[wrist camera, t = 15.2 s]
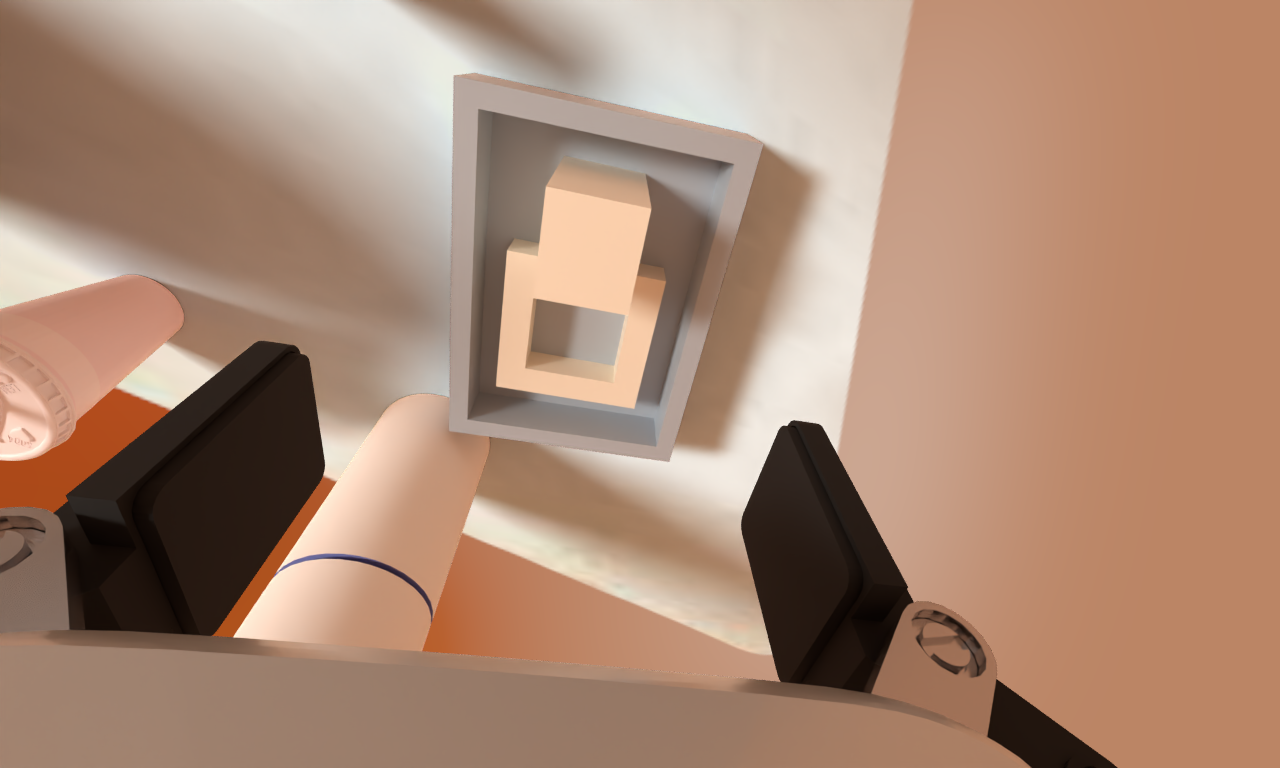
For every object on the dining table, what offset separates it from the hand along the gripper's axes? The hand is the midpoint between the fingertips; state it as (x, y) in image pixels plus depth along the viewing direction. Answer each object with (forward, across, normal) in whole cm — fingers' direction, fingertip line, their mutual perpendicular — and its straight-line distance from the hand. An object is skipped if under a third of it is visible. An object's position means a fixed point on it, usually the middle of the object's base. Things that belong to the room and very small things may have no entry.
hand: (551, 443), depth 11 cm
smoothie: (+20, +24, +10) cm, 33 cm away
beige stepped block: (+19, 0, +4) cm, 19 cm away
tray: (+20, 0, +4) cm, 20 cm away
